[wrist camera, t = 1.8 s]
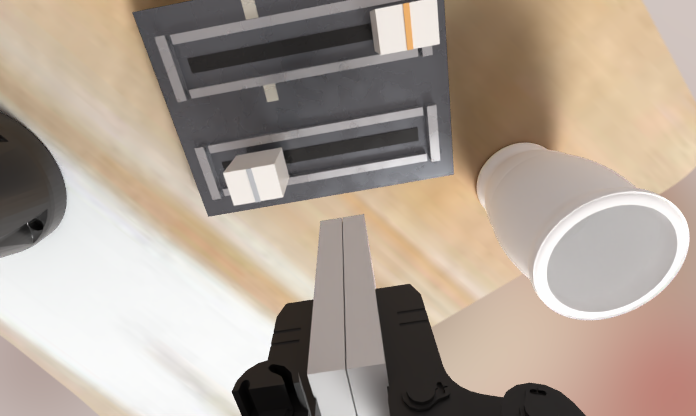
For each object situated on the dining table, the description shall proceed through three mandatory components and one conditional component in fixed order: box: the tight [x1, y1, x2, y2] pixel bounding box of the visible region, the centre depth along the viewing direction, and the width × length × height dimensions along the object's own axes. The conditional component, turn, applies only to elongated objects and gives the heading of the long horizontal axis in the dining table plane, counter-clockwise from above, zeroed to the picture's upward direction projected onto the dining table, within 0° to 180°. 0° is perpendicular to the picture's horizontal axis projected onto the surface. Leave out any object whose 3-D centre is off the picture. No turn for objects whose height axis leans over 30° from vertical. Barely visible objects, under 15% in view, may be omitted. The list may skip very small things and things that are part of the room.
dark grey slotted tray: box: [132, 0, 454, 217], centre depth 34 cm, size 24×18×4 cm
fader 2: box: [370, 0, 440, 55], centre depth 28 cm, size 4×3×6 cm
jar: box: [477, 143, 689, 320], centre depth 33 cm, size 11×10×15 cm
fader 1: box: [223, 147, 289, 206], centre depth 32 cm, size 4×3×6 cm
